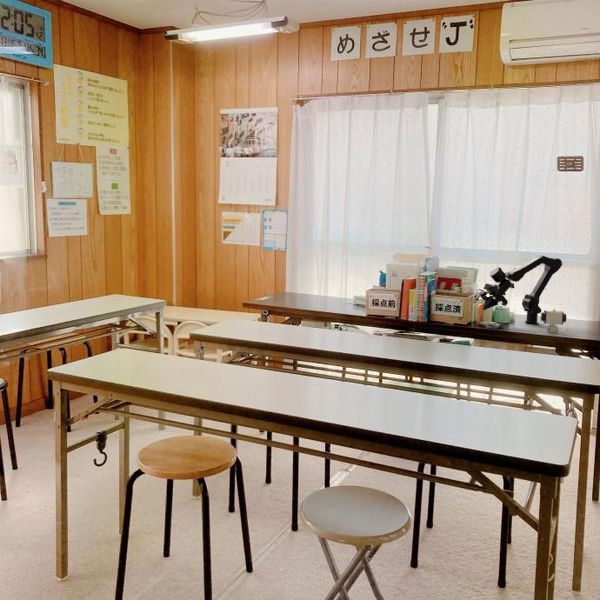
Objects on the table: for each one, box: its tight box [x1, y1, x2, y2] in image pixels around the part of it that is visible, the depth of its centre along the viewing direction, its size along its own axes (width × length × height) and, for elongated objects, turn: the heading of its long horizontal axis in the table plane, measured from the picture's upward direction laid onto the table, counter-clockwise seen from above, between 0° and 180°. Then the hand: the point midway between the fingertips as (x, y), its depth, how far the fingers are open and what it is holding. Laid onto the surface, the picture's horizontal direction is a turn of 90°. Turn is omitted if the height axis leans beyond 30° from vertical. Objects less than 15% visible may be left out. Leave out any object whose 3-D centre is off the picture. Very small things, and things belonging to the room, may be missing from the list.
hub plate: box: [484, 324, 500, 330], centre depth 330 cm, size 7×7×1 cm
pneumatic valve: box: [540, 308, 567, 333], centre depth 320 cm, size 6×12×12 cm, turn 76°
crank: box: [476, 303, 500, 327], centre depth 331 cm, size 13×4×11 cm, turn 38°
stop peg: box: [497, 322, 504, 329], centre depth 329 cm, size 3×3×3 cm
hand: (483, 309), depth 336 cm, fingers closed
